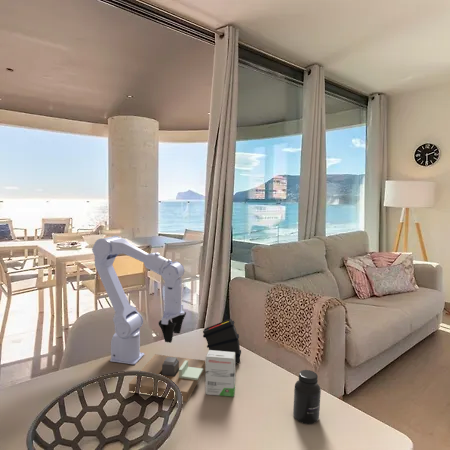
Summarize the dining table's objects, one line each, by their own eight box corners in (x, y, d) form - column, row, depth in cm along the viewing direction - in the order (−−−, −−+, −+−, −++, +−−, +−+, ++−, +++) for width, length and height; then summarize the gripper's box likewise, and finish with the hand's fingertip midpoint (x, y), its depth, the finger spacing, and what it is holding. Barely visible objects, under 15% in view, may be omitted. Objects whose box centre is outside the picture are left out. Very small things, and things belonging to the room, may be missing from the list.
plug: (162, 383, 109) (162, 361, 108) (167, 376, 113) (167, 355, 112) (174, 384, 108) (174, 363, 107) (178, 378, 112) (178, 357, 111)
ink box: (235, 388, 107) (236, 351, 105) (233, 397, 102) (234, 358, 101) (207, 385, 108) (208, 348, 107) (204, 394, 103) (205, 356, 102)
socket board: (128, 393, 103) (128, 383, 103) (155, 362, 121) (155, 354, 121) (187, 401, 99) (187, 391, 99) (205, 369, 118) (205, 360, 117)
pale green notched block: (178, 377, 106) (178, 369, 106) (185, 368, 112) (185, 360, 112) (197, 380, 105) (197, 372, 105) (203, 370, 111) (203, 362, 110)
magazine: (248, 360, 121) (230, 321, 120) (214, 373, 123) (196, 334, 123) (249, 355, 124) (232, 317, 124) (216, 367, 127) (199, 330, 126)
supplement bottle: (314, 428, 89) (316, 384, 88) (289, 419, 93) (291, 376, 91) (322, 414, 95) (324, 372, 94) (298, 405, 98) (300, 365, 97)
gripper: (176, 306, 110) (175, 347, 111) (191, 293, 124) (190, 330, 125) (155, 304, 111) (155, 345, 113) (172, 291, 125) (172, 328, 127)
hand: (172, 337), depth 119 cm, fingers open, 7 cm apart
